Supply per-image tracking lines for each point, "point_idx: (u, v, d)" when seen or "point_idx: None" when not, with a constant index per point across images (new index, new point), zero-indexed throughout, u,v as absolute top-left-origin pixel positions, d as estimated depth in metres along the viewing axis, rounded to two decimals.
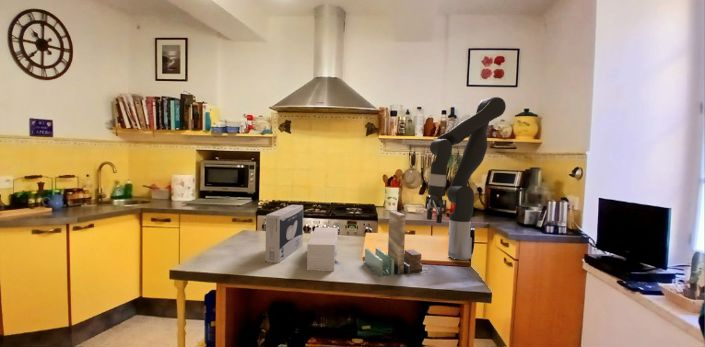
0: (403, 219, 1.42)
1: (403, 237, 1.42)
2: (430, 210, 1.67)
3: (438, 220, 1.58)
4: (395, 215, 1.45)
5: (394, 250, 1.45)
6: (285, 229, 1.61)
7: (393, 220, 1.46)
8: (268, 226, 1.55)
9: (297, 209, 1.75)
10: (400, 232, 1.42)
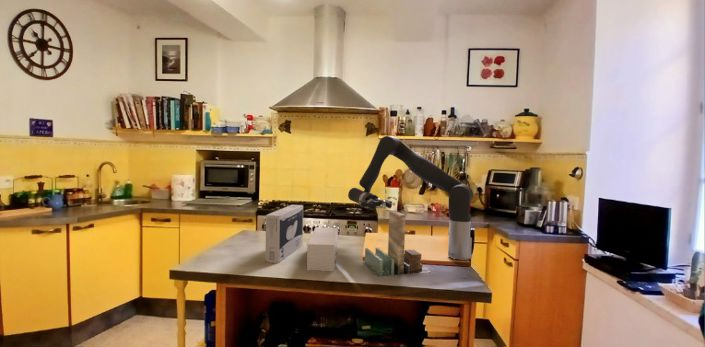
0: (403, 219, 1.42)
1: (403, 237, 1.42)
2: (386, 204, 1.67)
3: None
4: (395, 215, 1.45)
5: (394, 250, 1.45)
6: (285, 229, 1.61)
7: (393, 220, 1.46)
8: (268, 226, 1.55)
9: (297, 209, 1.75)
10: (400, 232, 1.42)
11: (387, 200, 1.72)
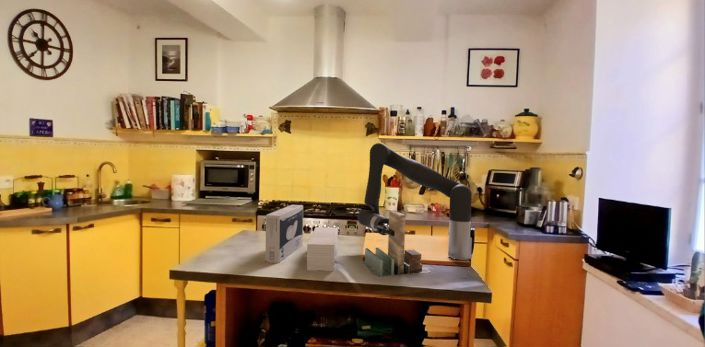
0: (403, 219, 1.42)
1: (403, 237, 1.42)
2: None
3: (390, 234, 1.46)
4: (395, 215, 1.44)
5: (394, 250, 1.45)
6: (285, 229, 1.61)
7: (393, 220, 1.46)
8: (268, 226, 1.55)
9: (297, 209, 1.75)
10: (400, 232, 1.42)
11: None
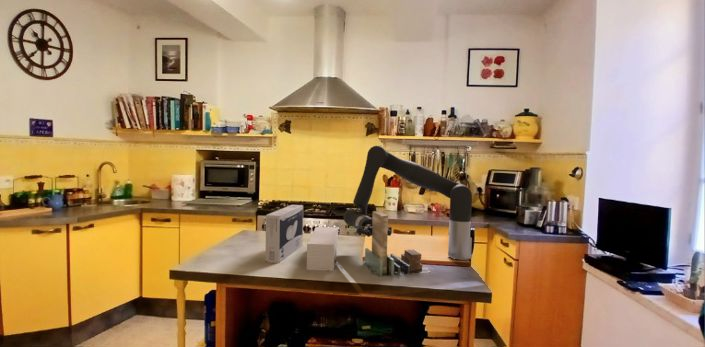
0: (386, 220, 1.40)
1: (386, 238, 1.40)
2: None
3: None
4: (378, 216, 1.43)
5: (377, 251, 1.44)
6: (285, 229, 1.61)
7: (376, 220, 1.44)
8: (268, 226, 1.55)
9: (297, 209, 1.75)
10: (383, 233, 1.40)
11: None
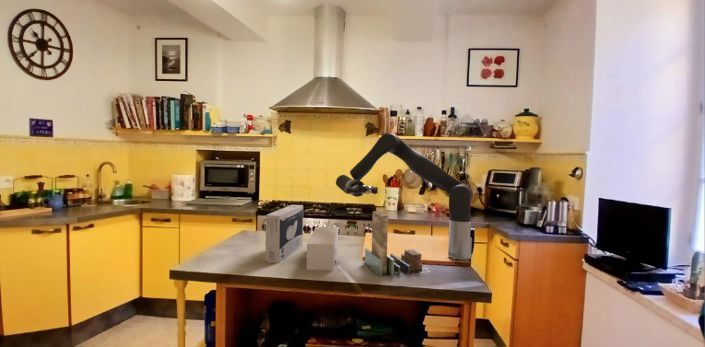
0: (386, 220, 1.40)
1: (386, 238, 1.40)
2: (372, 190, 1.65)
3: (354, 193, 1.60)
4: (378, 216, 1.43)
5: (377, 251, 1.44)
6: (285, 229, 1.61)
7: (376, 220, 1.44)
8: (268, 226, 1.55)
9: (297, 209, 1.75)
10: (383, 233, 1.40)
11: None
